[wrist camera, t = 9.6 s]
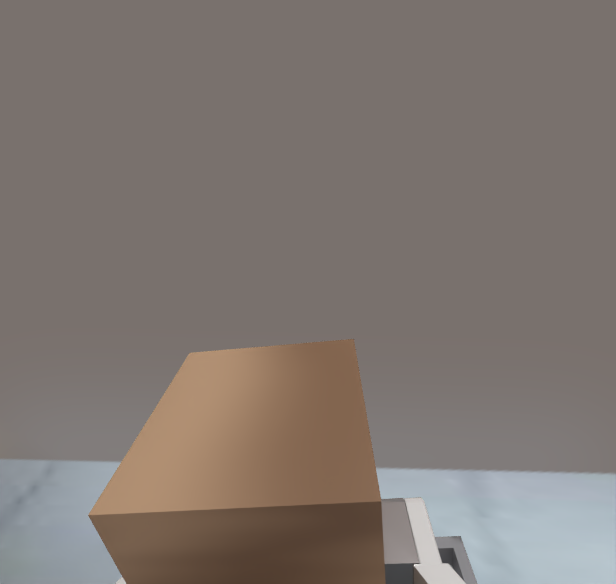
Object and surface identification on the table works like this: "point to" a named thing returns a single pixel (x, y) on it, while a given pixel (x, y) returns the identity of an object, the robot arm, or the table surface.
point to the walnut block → (251, 475)
